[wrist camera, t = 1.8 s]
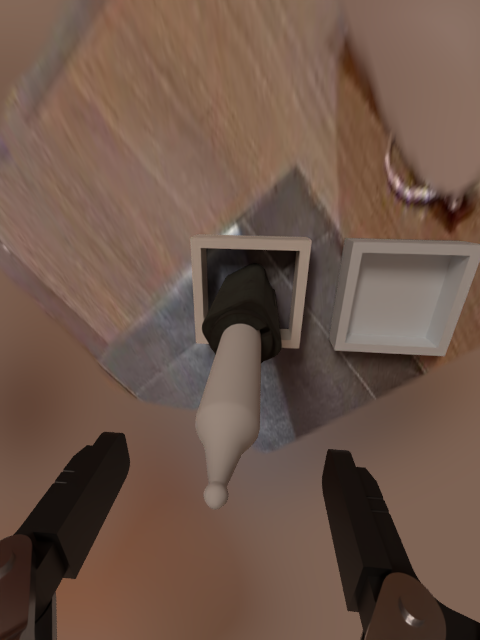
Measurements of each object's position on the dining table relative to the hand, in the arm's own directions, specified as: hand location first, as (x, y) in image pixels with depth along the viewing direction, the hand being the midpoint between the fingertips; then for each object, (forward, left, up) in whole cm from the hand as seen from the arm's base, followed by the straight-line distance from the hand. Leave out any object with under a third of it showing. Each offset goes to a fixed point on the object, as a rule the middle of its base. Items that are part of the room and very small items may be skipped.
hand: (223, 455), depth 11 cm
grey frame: (0, 0, -23) cm, 23 cm away
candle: (0, 0, -23) cm, 23 cm away
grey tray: (0, +16, -23) cm, 28 cm away
